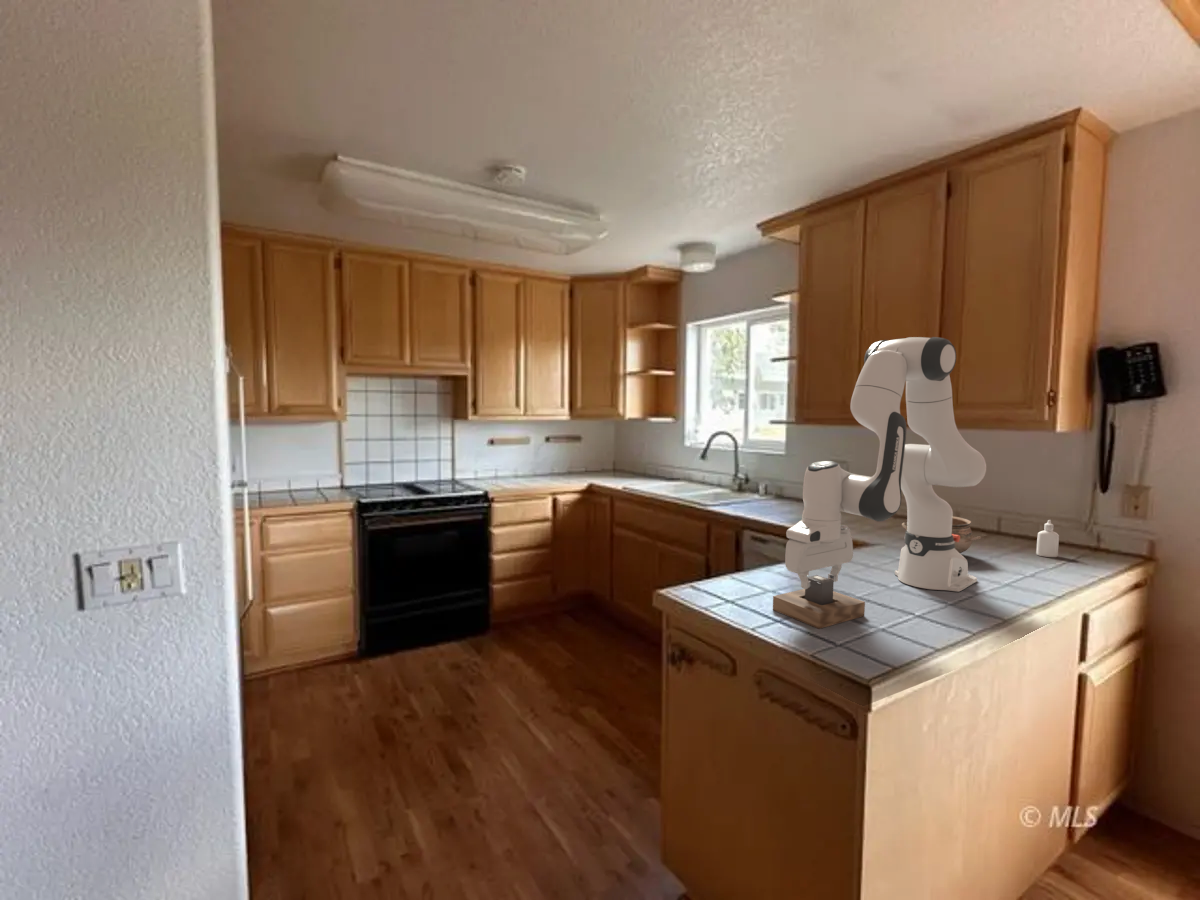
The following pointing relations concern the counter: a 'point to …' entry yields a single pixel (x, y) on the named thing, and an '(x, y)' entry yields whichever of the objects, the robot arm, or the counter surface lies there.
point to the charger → (820, 590)
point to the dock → (818, 608)
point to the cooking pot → (960, 533)
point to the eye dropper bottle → (1047, 541)
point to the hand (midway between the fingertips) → (819, 584)
